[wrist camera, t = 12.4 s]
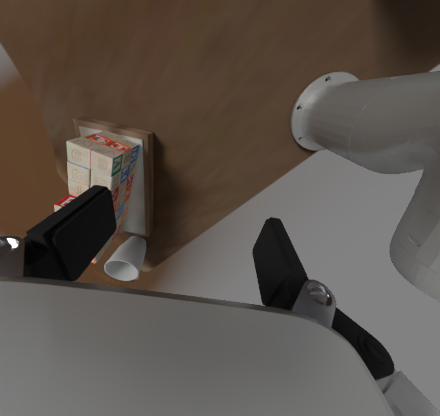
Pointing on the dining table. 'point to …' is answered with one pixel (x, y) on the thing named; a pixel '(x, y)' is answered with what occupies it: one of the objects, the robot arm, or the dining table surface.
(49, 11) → the dining table surface
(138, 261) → the cup
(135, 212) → the picture frame
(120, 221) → the stack of blocks
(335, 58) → the dining table surface
